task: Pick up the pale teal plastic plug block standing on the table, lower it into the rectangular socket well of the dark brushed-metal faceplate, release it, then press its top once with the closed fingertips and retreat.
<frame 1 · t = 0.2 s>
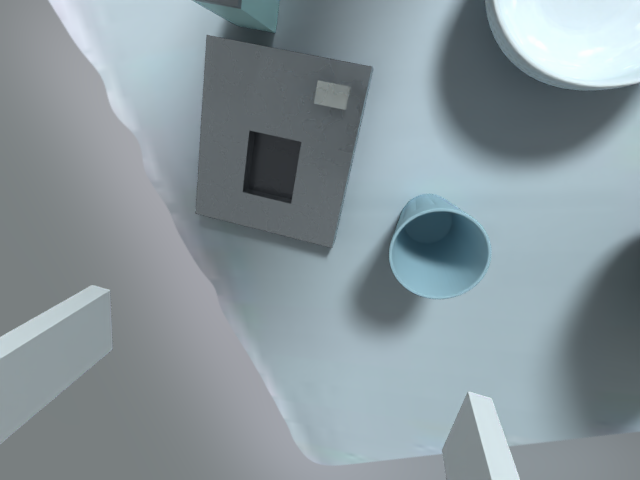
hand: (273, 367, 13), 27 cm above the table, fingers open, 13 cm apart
socket plate: (279, 146, 38), on the table
cup: (426, 218, 37), on the table
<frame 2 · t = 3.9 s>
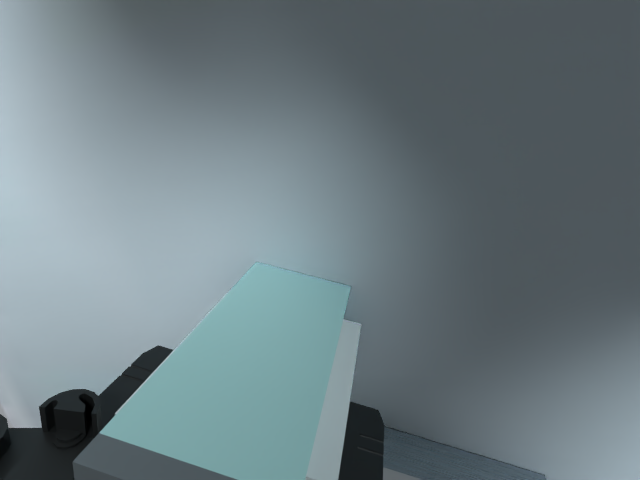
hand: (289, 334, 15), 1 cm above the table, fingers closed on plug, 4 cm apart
plug: (293, 324, 15), on the table, touching gripper
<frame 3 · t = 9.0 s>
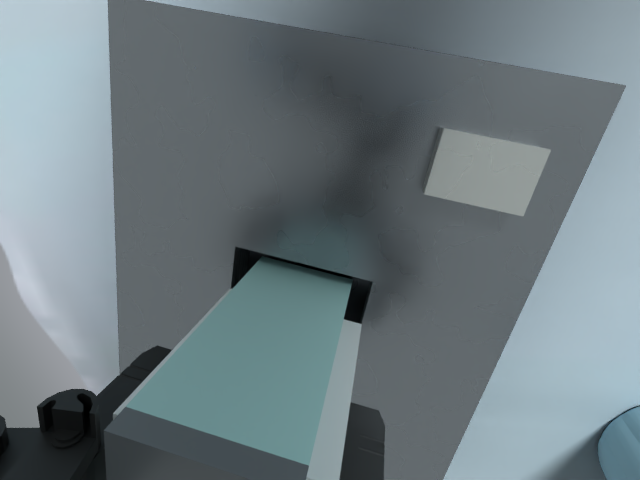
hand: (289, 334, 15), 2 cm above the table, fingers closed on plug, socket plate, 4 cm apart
plug: (297, 317, 16), point 1 cm above the table, touching gripper
socket plate: (308, 270, 16), on the table
when the fingers open (2 cm above the table, at t = 10.0 s): plug stays where it is, resting on socket plate.
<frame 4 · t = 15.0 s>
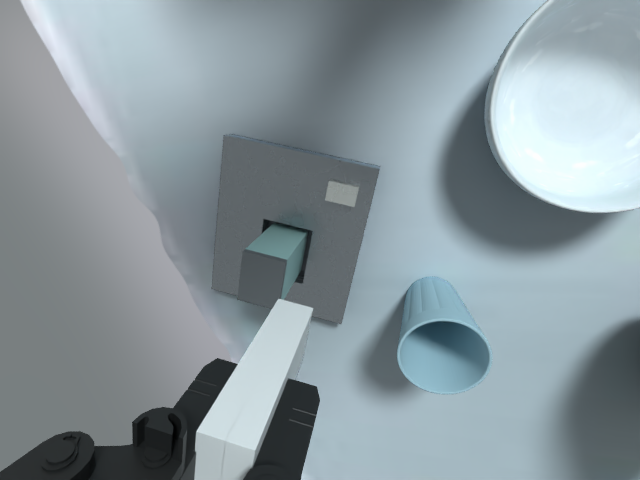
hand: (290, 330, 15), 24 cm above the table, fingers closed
cereal bowl: (573, 100, 31), on the table
plug: (287, 246, 40), resting on socket plate
socket plate: (291, 229, 40), on the table
cup: (430, 297, 40), on the table
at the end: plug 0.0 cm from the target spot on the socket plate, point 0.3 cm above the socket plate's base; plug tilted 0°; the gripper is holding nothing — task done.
